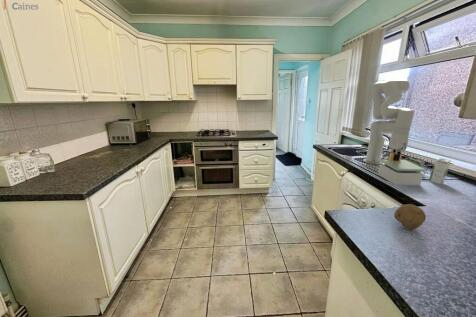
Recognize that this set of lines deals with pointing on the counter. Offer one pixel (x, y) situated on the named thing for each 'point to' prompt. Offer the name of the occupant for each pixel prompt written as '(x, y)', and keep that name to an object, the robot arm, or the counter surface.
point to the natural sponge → (410, 216)
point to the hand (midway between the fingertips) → (394, 159)
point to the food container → (415, 161)
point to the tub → (400, 176)
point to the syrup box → (439, 170)
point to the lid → (401, 164)
